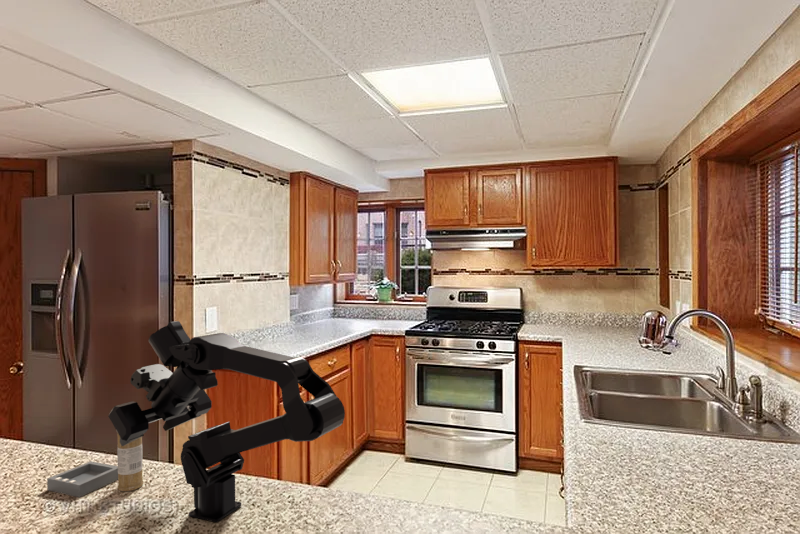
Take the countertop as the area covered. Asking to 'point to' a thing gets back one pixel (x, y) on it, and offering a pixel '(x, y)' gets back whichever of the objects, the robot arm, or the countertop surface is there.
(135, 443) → the sprinkles bottle
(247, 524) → the countertop surface
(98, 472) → the dish
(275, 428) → the robot arm
